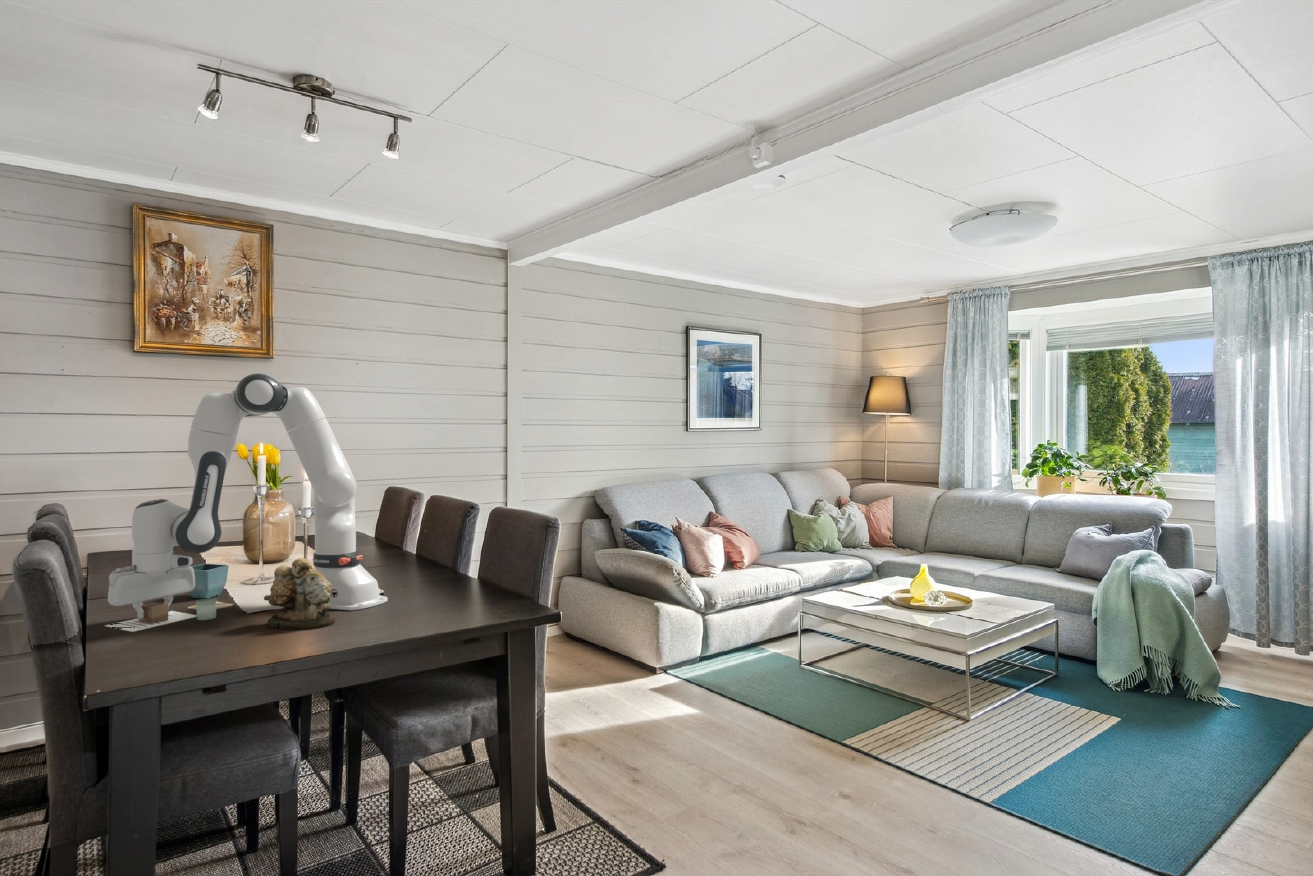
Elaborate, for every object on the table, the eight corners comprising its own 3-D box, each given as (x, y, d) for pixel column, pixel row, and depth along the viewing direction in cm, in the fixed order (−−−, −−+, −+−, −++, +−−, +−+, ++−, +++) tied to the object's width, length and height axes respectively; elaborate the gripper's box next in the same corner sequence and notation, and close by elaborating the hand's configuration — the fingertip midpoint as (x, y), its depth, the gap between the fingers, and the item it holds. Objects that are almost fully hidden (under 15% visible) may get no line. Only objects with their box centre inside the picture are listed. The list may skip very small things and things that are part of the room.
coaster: (233, 606, 214) (233, 604, 214) (205, 612, 207) (205, 610, 207) (214, 603, 218) (214, 601, 218) (187, 609, 210) (187, 607, 210)
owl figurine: (252, 629, 191) (252, 562, 191) (278, 618, 203) (277, 554, 203) (322, 630, 190) (322, 562, 190) (344, 618, 202) (343, 554, 202)
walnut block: (168, 620, 198) (168, 604, 198) (152, 623, 194) (152, 608, 194) (154, 617, 200) (154, 602, 200) (138, 621, 197) (138, 605, 197)
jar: (220, 618, 201) (220, 599, 201) (203, 622, 197) (203, 603, 197) (209, 616, 203) (209, 597, 203) (192, 620, 199) (192, 601, 199)
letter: (199, 617, 202) (199, 615, 202) (132, 633, 187) (132, 631, 187) (172, 611, 208) (172, 610, 208) (104, 626, 192) (104, 625, 192)
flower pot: (207, 601, 220) (206, 570, 220) (181, 599, 222) (180, 568, 222) (229, 594, 229) (229, 564, 229) (204, 592, 231) (204, 563, 230)
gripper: (116, 570, 186) (117, 626, 187) (198, 557, 205) (198, 608, 205) (101, 568, 189) (102, 623, 189) (183, 555, 207) (184, 605, 208)
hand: (153, 615), depth 197 cm, fingers closed on walnut block, 4 cm apart
